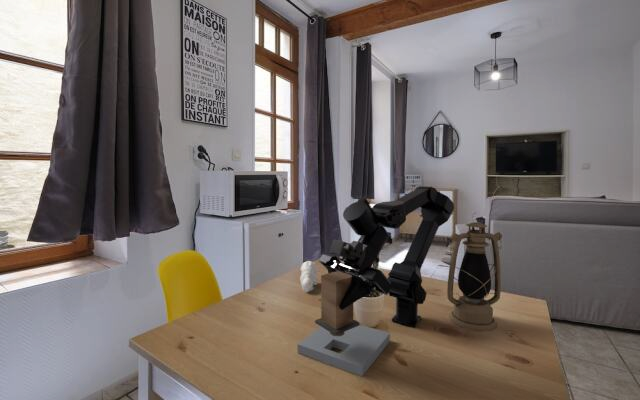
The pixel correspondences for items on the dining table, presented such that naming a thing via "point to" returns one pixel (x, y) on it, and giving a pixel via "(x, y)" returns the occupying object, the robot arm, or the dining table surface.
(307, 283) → the white lumpy upright piece
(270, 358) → the dining table surface
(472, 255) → the lantern
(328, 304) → the walnut peg
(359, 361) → the slate board
